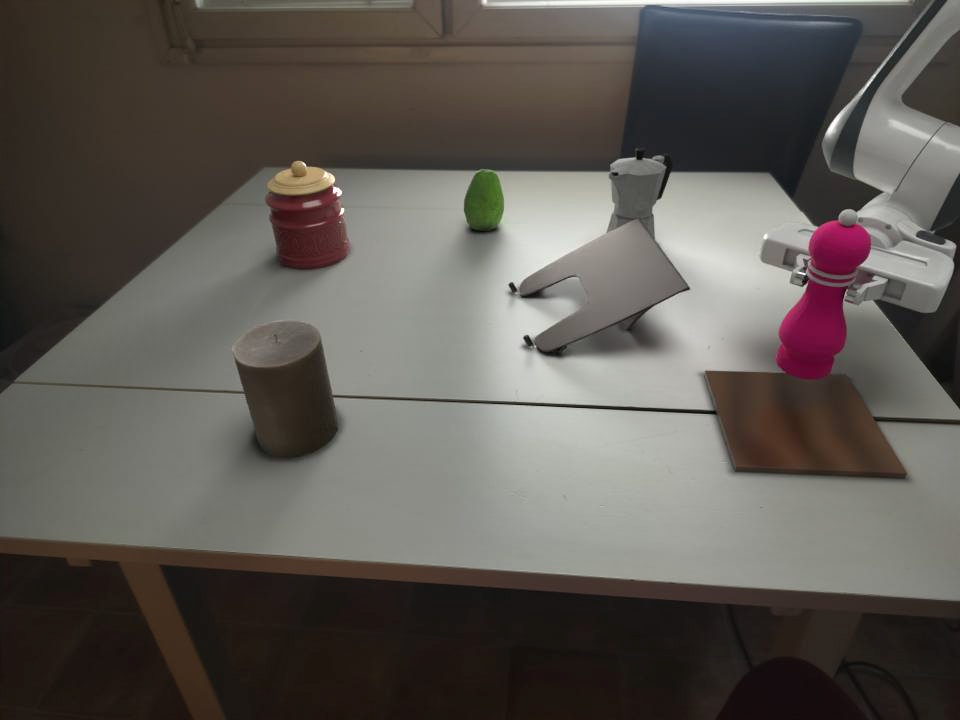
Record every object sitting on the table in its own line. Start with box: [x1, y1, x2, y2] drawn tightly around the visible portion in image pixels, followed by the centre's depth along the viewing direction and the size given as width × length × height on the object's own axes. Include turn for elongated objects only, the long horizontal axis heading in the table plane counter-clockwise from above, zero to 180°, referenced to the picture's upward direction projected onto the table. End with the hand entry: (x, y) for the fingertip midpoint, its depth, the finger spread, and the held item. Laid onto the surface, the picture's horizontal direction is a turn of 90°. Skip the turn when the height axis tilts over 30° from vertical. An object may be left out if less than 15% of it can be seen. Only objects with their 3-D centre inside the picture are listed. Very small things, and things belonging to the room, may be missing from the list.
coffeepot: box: [605, 147, 674, 240], centre depth 117 cm, size 15×9×18 cm, turn 126°
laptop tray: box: [507, 218, 691, 355], centre depth 100 cm, size 23×23×9 cm
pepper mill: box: [775, 208, 871, 380], centre depth 75 cm, size 7×7×20 cm
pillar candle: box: [230, 318, 340, 459], centre depth 77 cm, size 10×10×15 cm
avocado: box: [463, 168, 505, 232], centre depth 126 cm, size 8×8×12 cm
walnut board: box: [703, 370, 908, 479], centre depth 80 cm, size 18×18×2 cm
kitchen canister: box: [264, 160, 351, 270], centre depth 117 cm, size 13×13×18 cm
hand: (824, 288), depth 74 cm, fingers closed on pepper mill, 5 cm apart
